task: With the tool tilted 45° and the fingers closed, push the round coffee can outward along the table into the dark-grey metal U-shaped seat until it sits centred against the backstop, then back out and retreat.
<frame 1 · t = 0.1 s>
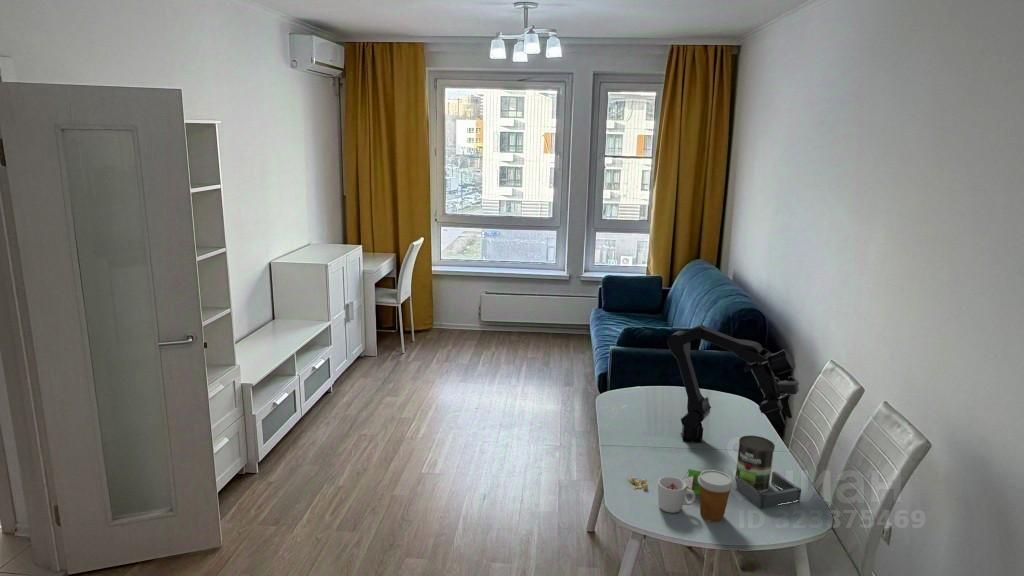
hand: (787, 422, 217), 15 cm above the table, tool tilted 35°, fingers open, 9 cm apart
coffee can: (751, 484, 207), on the table
disposable coffee cup: (711, 516, 189), on the table
cup: (674, 509, 192), on the table
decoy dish: (758, 455, 226), on the table
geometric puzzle: (693, 491, 202), on the table
dice set: (639, 488, 205), on the table
seat: (763, 492, 202), on the table
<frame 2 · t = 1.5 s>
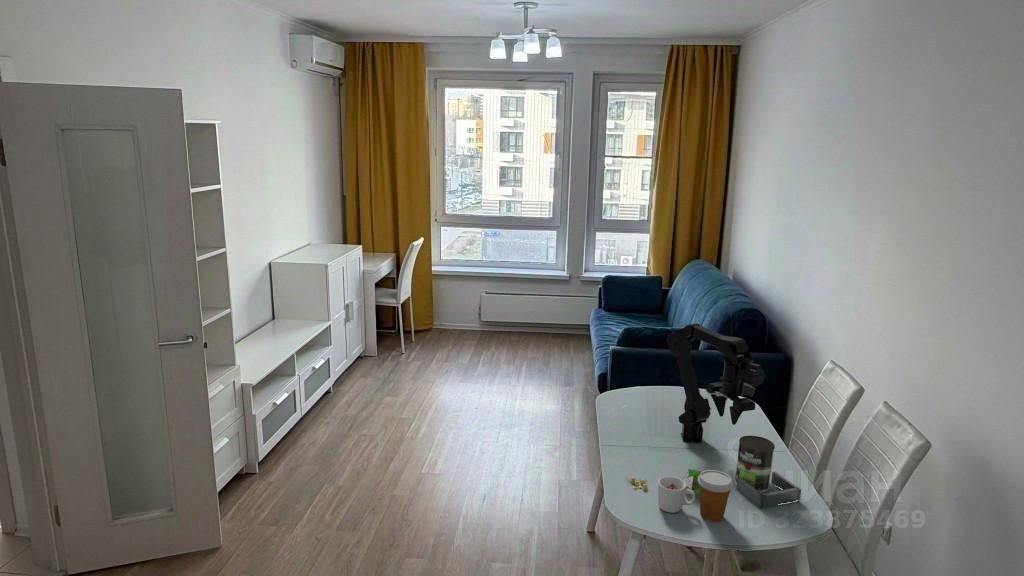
hand: (727, 420, 222), 13 cm above the table, tool pointing down, fingers open, 6 cm apart
nothing on the table moved.
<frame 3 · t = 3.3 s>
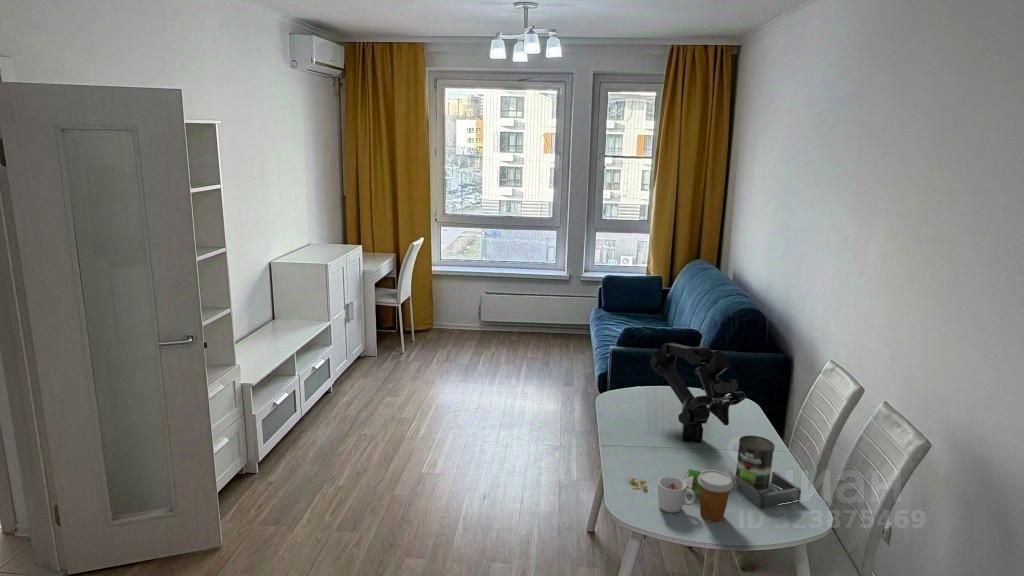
hand: (727, 424, 218), 13 cm above the table, tool tilted 45°, fingers closed
nothing on the table moved.
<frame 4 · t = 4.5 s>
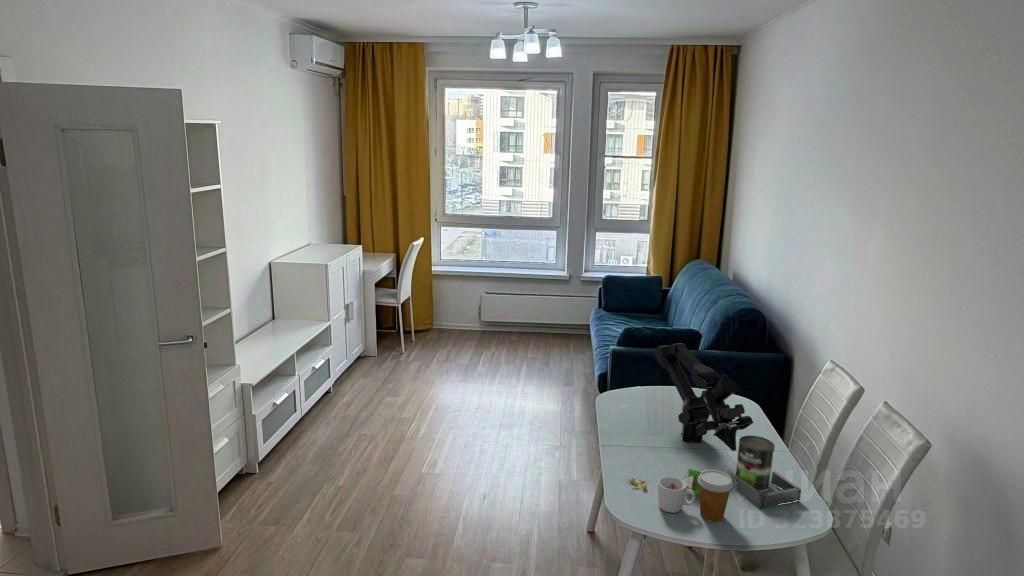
hand: (734, 450, 215), 7 cm above the table, tool tilted 45°, fingers closed
nothing on the table moved.
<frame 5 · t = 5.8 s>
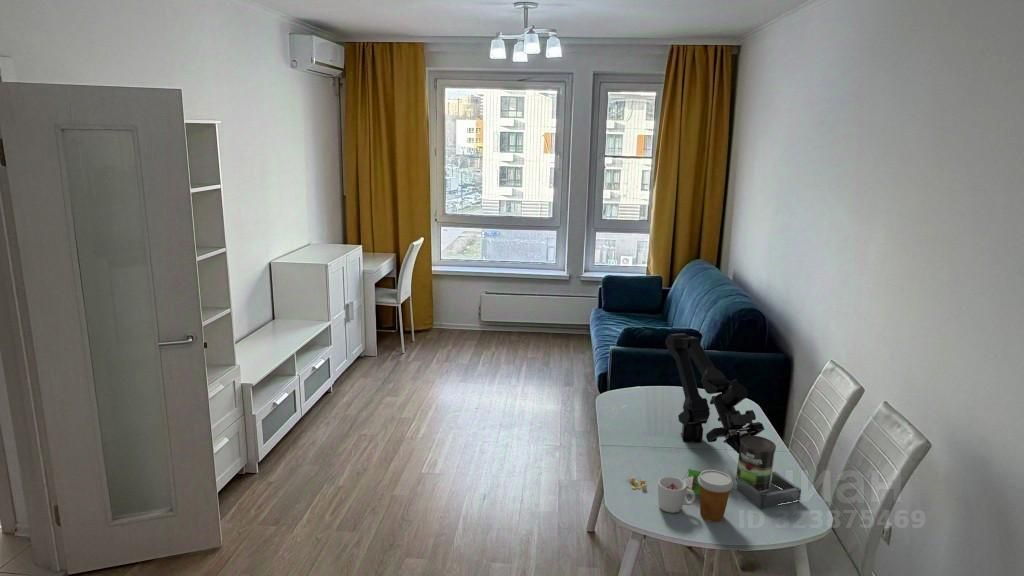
hand: (745, 457, 210), 7 cm above the table, tool tilted 45°, fingers closed, pressing on coffee can
coffee can: (752, 484, 207), on the table, touching gripper
everything else where it was.
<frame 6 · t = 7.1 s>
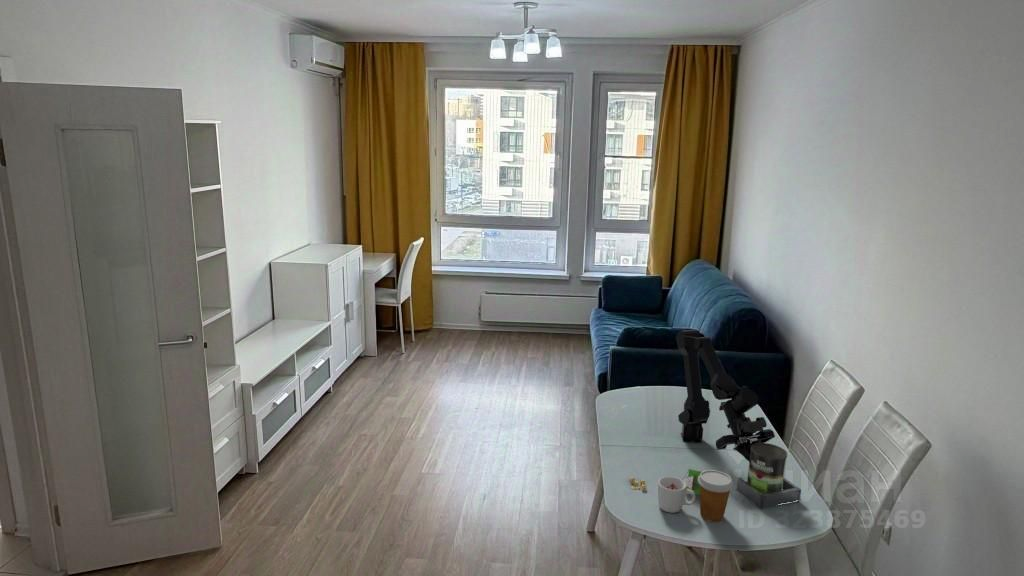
hand: (755, 465, 205), 7 cm above the table, tool tilted 45°, fingers closed, pressing on coffee can
coffee can: (763, 493, 202), on the table, touching gripper
everything else where it was.
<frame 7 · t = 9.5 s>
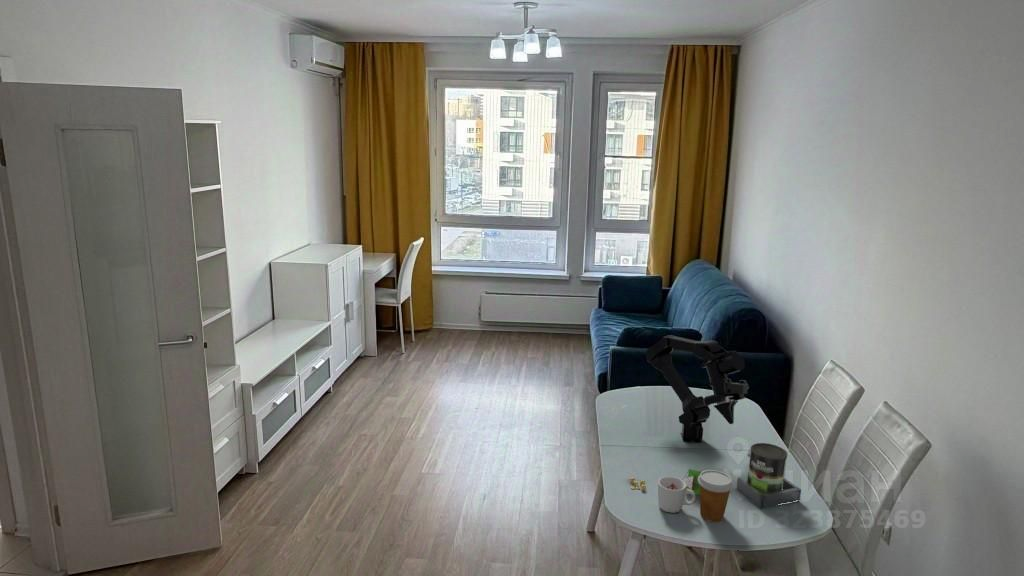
hand: (731, 423, 220), 13 cm above the table, tool tilted 30°, fingers closed
coffee can: (763, 493, 202), on the table
everything else where it was.
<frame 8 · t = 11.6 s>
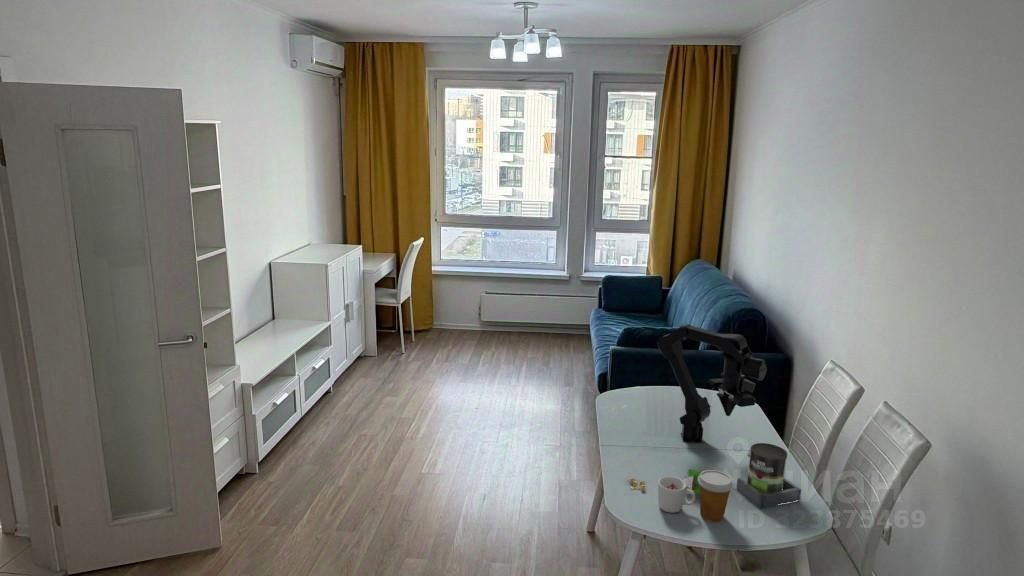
hand: (728, 415, 226), 13 cm above the table, tool pointing down, fingers closed
nothing on the table moved.
at the end: coffee can 0.1 cm from the seat (horizontally); coffee can tilted 0°; coffee can moved 5.5 cm from its start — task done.
